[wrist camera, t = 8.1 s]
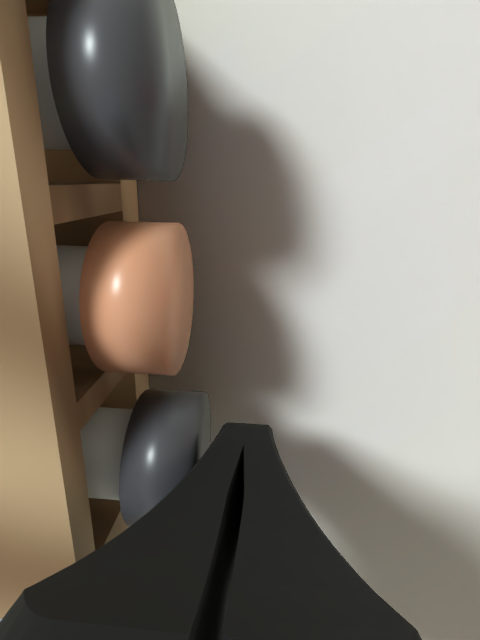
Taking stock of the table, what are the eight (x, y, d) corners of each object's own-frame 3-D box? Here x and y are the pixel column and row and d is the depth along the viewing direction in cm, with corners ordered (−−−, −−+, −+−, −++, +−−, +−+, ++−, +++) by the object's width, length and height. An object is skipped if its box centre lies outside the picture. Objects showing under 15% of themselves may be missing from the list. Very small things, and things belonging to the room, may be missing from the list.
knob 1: (189, 180, 11) (147, 181, 7) (-36, 176, 11) (-173, 175, 8) (185, 16, 10) (134, -75, 6) (-65, 19, 10) (-242, -62, 7)
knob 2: (210, 469, 14) (188, 566, 10) (31, 455, 14) (-49, 543, 11) (210, 370, 12) (184, 442, 9) (14, 359, 13) (-81, 423, 10)
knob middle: (194, 341, 12) (162, 404, 9) (-5, 331, 13) (-110, 387, 9) (192, 216, 11) (153, 232, 8) (-28, 210, 11) (-157, 224, 8)
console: (154, 468, 15) (85, 627, 10) (38, 459, 16) (-90, 608, 10) (124, -20, 11) (-44, -236, 5) (-42, -17, 11) (-368, -214, 5)
